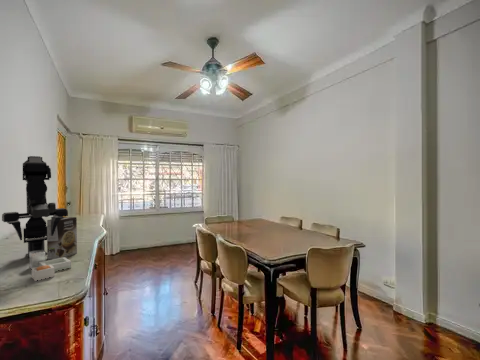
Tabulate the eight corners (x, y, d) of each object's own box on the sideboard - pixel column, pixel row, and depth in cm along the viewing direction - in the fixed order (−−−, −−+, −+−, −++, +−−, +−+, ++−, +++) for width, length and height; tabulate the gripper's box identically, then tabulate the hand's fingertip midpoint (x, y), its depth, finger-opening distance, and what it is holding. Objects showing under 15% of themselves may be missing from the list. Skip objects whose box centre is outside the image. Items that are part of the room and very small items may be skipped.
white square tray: (39, 268, 95) (39, 262, 95) (64, 263, 101) (64, 256, 101) (44, 273, 90) (44, 266, 90) (71, 267, 96) (71, 261, 96)
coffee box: (59, 259, 106) (59, 220, 106) (46, 258, 108) (45, 219, 107) (77, 253, 115) (77, 216, 115) (65, 252, 116) (64, 216, 116)
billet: (29, 267, 97) (29, 251, 97) (42, 265, 100) (42, 249, 100) (31, 270, 94) (31, 253, 94) (45, 267, 97) (45, 251, 97)
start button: (36, 273, 87) (35, 267, 87) (47, 270, 89) (47, 264, 89) (38, 275, 85) (38, 269, 85) (50, 272, 87) (50, 266, 87)
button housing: (31, 277, 87) (31, 268, 87) (50, 272, 91) (50, 264, 91) (35, 281, 83) (35, 271, 83) (54, 276, 87) (54, 267, 87)
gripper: (6, 198, 84) (6, 246, 85) (72, 195, 98) (72, 236, 99) (1, 197, 92) (2, 241, 92) (63, 194, 106) (64, 232, 106)
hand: (37, 237), depth 97 cm, fingers open, 9 cm apart
